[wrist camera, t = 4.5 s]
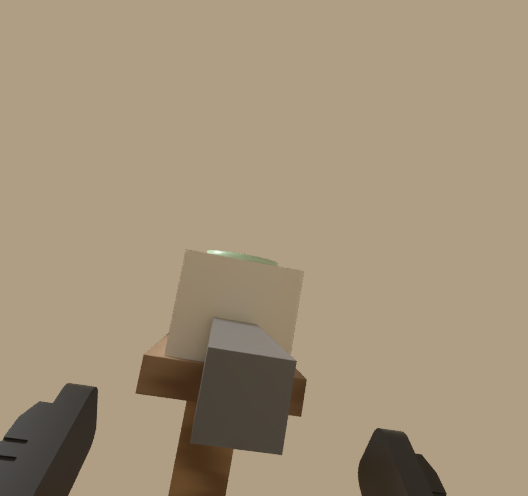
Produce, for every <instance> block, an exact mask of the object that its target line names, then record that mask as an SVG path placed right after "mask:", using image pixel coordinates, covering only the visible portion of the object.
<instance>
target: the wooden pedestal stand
mask: <svg viewBox="0 0 528 496" xmlns="http://www.w3.org/2000/svg"><path fill="white" fill-rule="evenodd" d="M168 334H169V333H168ZM168 334H167V335H166V336H164V337H163V338H162V339H161V340H160V341H159V342H158V343H156V344H155V345H154V346H153V347H152V348H151V349H150V350H148V351H147V352H146V353H145V354H144V356H143V361H142V365H141V370H140V375H139V379H138V384H137V389H136V393H137V394H143V395H151V396H157V397H165V398H173V399H179V400H186V401H187V403H186V407H185V413H184V418H183V423H182V428H181V433H180V438H179V444H178V449H177V454H176V459H175V464H174V469H173V474H172V480H171V485H170V490H169V496H225V495H226V489H227V483H228V477H229V471H230V466H231V460H232V454H233V449H231V448H223V447H216V446H208V445H200V444H192V443H190V440H191V434H192V429H193V423H194V418H195V412H196V407H197V402H198V396H199V391H200V385H201V380H202V374H203V369H204V363H205V362H201V361H195V360H188V359H182V358H175V357H168V356H164V354H165V349H166V344H167V339H168ZM305 386H306V379H305V377H304V376H303V375H302V374H301V373H300V372H299V371H298V370H297V369H296V368H295V375H294V381H293V387H292V394H291V400H290V407H289V413H288V415H293V416H300V417H301V413H302V407H303V400H304V393H305Z"/></svg>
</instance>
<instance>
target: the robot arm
mask: <svg viewBox="0 0 528 496" xmlns="http://www.w3.org/2000/svg"><path fill="white" fill-rule="evenodd" d="M97 396H98V389H97V387H92V386H86V385H79V384H72V383H68V384H66V385H65V386H64V388H63V389H62V390H61V392H60V393H59V395H58V396H57V398H56V399H55V401H54V402H53V403H47V402H38V403H37V404H35V405H34V406H33V407H31V408H30V409H29V410H27V411H26V412H25V413H24V414H22V415H21V416H19V417H18V419H17V420H16V421H15V423H14V424H13V425H12V427H11V428H10V429H9V431H8V432H7V433H6V435H5V436H4V439H3V441H0V496H68V494H69V492H70V490H71V488H72V486H73V484H74V482H75V480H76V478H77V476H78V473H79V471H80V469H81V467H82V465H83V463H84V460H85V459H86V456H87V454H88V452H89V450H90V447H91V445H92V442H93V439H94V435H95V430H96V419H97V398H98V397H97ZM358 480H359V486H360V490H361V494H362V496H446V492H445V489H444V487H443V486H442V483H441V481H440V479H439V477H438V475H437V473H436V472H435V470H434V469H433V468H432V467H431V466H430V464H429V463H428V462H427V461H426V459H425V458H424V457H423V456H422V455H421V454H415V452H414V450H413V448H412V446H411V443H410V441H409V439H408V437H407V435H406V434H405V433H404V432H401V431H394V430H387V429H380V428H377V429H376V430H375V431H374V433H373V435H372V437H371V439H370V441H369V443H368V445H367V448H366V450H365V452H364V454H363V456H362V458H361V460H360V463H359V468H358Z"/></svg>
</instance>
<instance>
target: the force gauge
mask: <svg viewBox="0 0 528 496" xmlns="http://www.w3.org/2000/svg"><path fill="white" fill-rule="evenodd" d="M303 274H304V271H300V270H295V269H290V268H284V267H279V266H278V263H276V262H274V261H271V260H268V259H263V258H260V257H255V256H250V255H245V254H240V253H234V252H226V251H217V250H208V251H207V253H203V252H198V251H192V250H186V252H185V257H184V261H183V267H182V271H181V276H180V281H179V286H178V291H177V296H176V300H175V306H174V310H173V315H172V320H171V325H170V329H169V334H168V339H167V344H166V349H165V354H164V356H168V357H175V358H182V359H188V360H195V361H201V362H205V363H204V369H203V374H202V380H201V385H200V391H199V396H198V402H197V407H196V412H195V418H194V423H193V429H192V434H191V440H190V443H192V444H200V445H208V446H216V447H223V448H231V449H239V450H247V451H255V452H262V453H271V454H278V455H282V452H283V445H284V438H285V432H286V426H287V419H288V413H289V407H290V400H291V394H292V387H293V381H294V375H295V368H296V362H297V361H296V360H295V359H294V358H293V357H292V356H291V350H292V343H293V337H294V331H295V324H296V318H297V312H298V306H299V299H300V292H301V287H302V280H303Z"/></svg>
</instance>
